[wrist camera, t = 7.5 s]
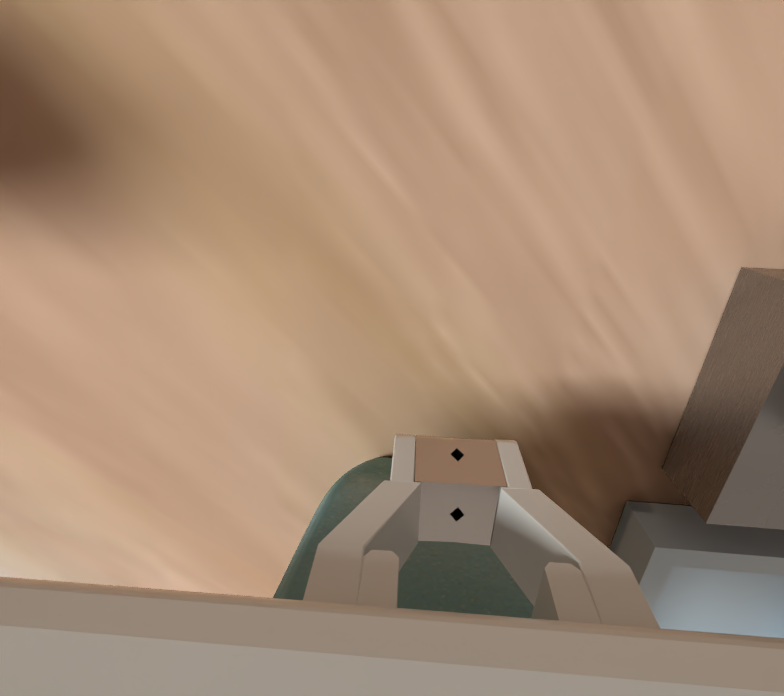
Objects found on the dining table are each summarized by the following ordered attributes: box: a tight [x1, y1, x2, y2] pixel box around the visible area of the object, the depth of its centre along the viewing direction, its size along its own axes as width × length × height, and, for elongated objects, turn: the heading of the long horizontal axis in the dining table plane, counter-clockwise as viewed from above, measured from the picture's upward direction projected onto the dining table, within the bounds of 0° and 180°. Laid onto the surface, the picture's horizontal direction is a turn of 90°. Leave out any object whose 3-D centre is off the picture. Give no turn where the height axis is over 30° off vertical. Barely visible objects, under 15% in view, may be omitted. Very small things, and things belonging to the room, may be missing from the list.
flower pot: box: [273, 457, 534, 618], centre depth 15 cm, size 9×9×9 cm
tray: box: [610, 501, 784, 638], centre depth 19 cm, size 11×11×2 cm
